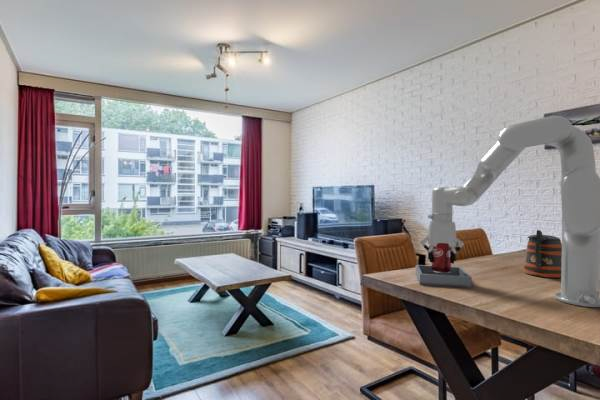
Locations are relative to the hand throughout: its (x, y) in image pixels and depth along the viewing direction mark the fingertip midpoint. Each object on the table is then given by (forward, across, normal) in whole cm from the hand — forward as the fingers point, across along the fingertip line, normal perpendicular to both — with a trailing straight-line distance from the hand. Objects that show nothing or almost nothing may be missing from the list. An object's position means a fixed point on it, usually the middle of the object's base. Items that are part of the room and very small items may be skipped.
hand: (441, 262), depth 134 cm
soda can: (+4, 0, 0) cm, 4 cm away
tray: (+7, 0, 0) cm, 7 cm away
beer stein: (+8, +44, +21) cm, 49 cm away
